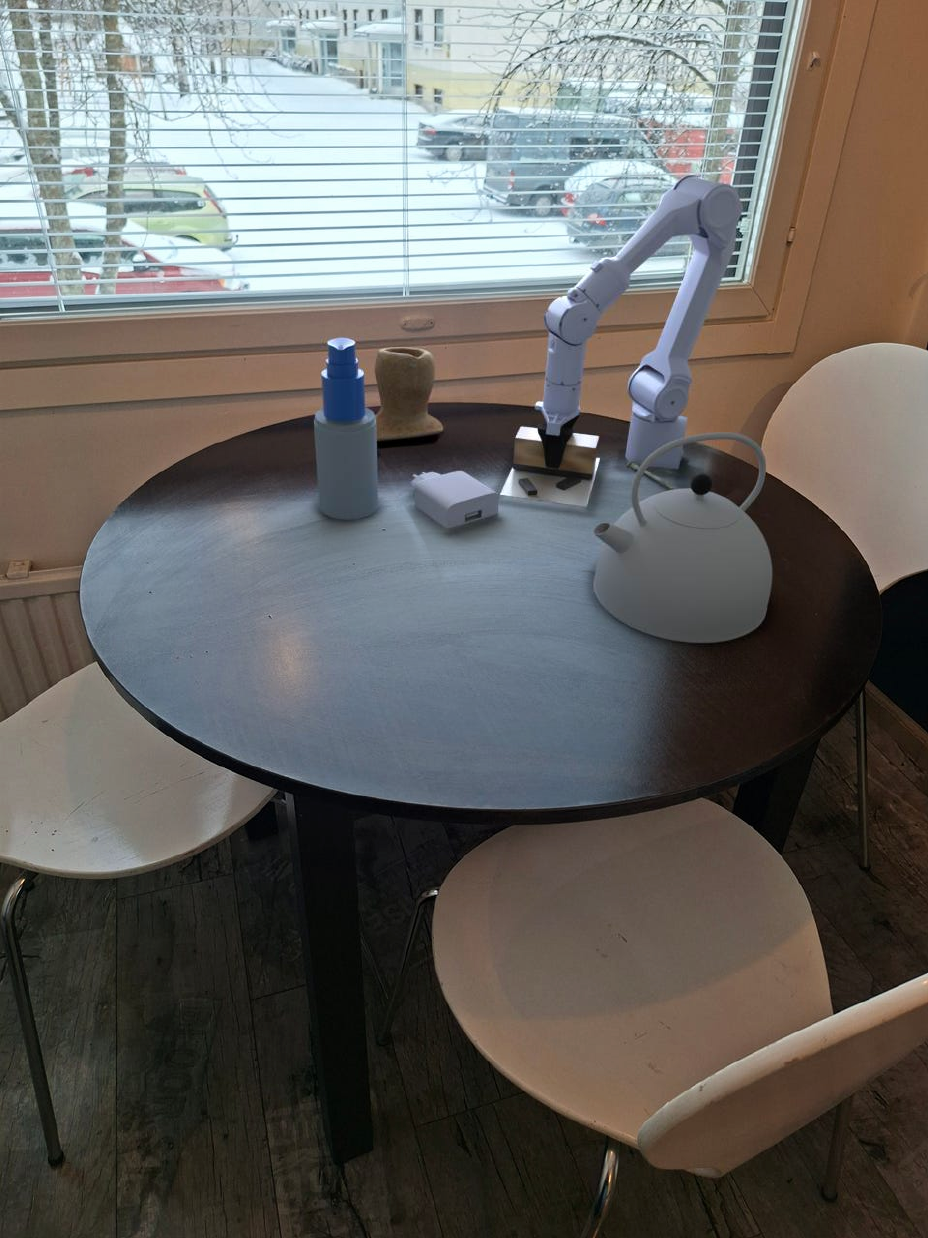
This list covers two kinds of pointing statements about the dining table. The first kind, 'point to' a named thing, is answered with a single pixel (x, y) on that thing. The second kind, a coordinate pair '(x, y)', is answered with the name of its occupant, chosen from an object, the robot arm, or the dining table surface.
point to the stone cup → (404, 393)
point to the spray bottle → (345, 438)
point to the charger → (454, 498)
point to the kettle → (686, 560)
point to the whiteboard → (549, 487)
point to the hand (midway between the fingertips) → (555, 460)
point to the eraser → (574, 460)
